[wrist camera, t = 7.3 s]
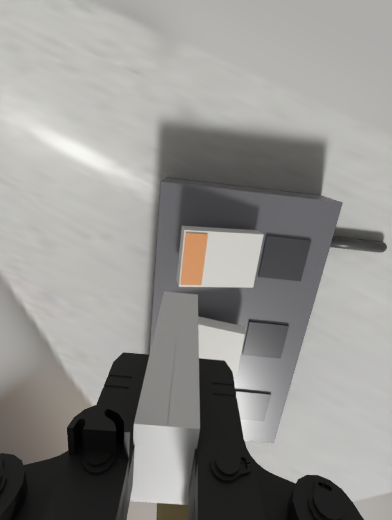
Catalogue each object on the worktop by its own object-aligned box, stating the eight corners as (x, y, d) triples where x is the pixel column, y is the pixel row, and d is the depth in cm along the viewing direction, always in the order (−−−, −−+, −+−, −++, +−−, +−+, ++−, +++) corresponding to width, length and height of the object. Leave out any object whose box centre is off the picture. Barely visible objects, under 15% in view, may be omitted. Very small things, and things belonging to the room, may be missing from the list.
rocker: (257, 230, 22) (264, 234, 21) (247, 281, 24) (253, 288, 23) (181, 225, 21) (184, 230, 20) (176, 280, 22) (179, 287, 21)
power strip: (397, 204, 26) (437, 214, 21) (322, 417, 35) (339, 454, 30) (166, 177, 25) (159, 182, 21) (150, 401, 34) (143, 436, 30)
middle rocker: (245, 326, 24) (244, 335, 23) (237, 368, 25) (235, 378, 24) (177, 311, 25) (172, 319, 24) (172, 353, 26) (168, 362, 25)
